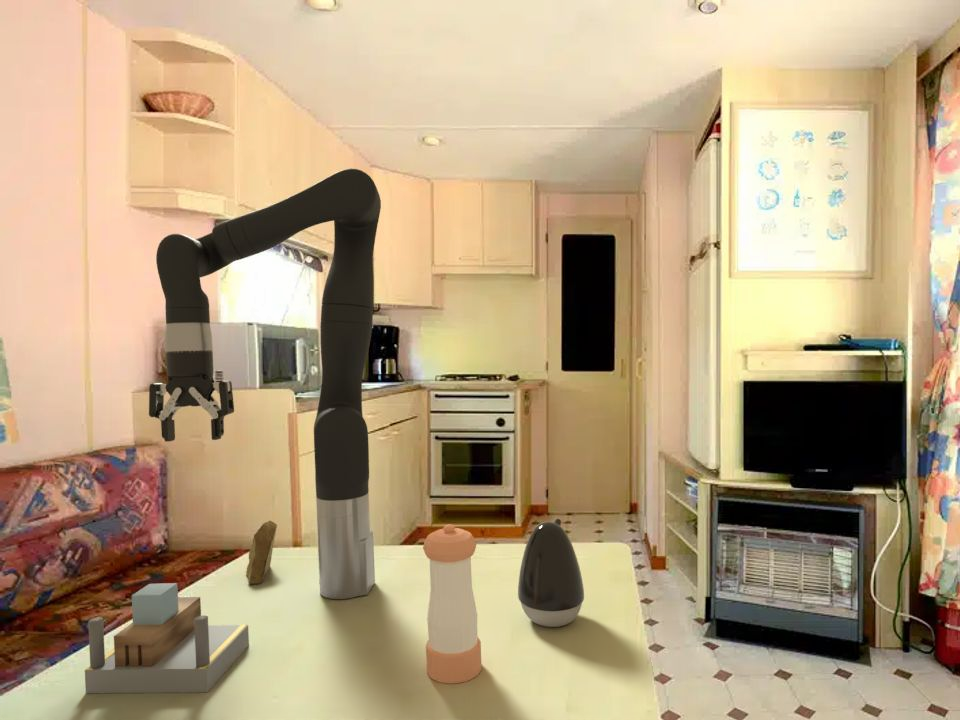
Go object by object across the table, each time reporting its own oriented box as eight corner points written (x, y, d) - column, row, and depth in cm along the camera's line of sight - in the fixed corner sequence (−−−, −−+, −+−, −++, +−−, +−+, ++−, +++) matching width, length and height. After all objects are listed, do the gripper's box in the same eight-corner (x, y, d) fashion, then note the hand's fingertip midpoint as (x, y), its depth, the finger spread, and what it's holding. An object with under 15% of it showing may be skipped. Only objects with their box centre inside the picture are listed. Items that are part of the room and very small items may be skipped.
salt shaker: (446, 650, 83) (441, 515, 83) (491, 662, 80) (486, 520, 79) (415, 675, 77) (410, 529, 77) (462, 689, 73) (457, 536, 73)
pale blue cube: (150, 611, 83) (149, 583, 83) (178, 611, 83) (177, 583, 83) (132, 625, 79) (131, 595, 79) (161, 624, 79) (160, 594, 79)
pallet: (168, 624, 88) (167, 597, 88) (201, 623, 88) (200, 596, 88) (115, 666, 76) (113, 636, 76) (152, 666, 76) (151, 635, 76)
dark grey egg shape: (592, 610, 94) (589, 515, 94) (574, 640, 85) (571, 535, 85) (532, 601, 98) (529, 510, 98) (509, 628, 89) (505, 528, 89)
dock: (249, 645, 87) (246, 584, 87) (207, 692, 75) (204, 621, 75) (143, 646, 87) (140, 586, 87) (85, 693, 75) (82, 623, 75)
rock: (270, 575, 109) (299, 550, 118) (241, 539, 109) (272, 516, 118) (234, 605, 112) (265, 577, 121) (206, 569, 112) (239, 545, 121)
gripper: (238, 348, 108) (241, 436, 108) (162, 350, 109) (166, 438, 109) (218, 347, 101) (222, 442, 101) (137, 350, 101) (141, 444, 102)
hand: (193, 440), depth 105 cm, fingers open, 8 cm apart
